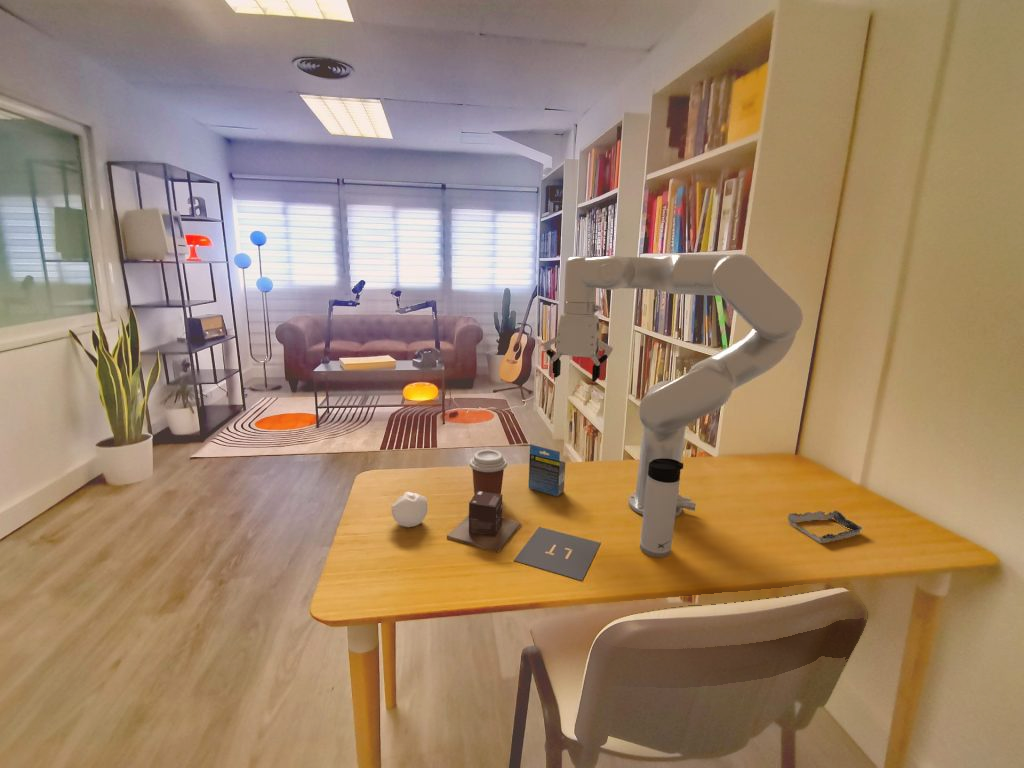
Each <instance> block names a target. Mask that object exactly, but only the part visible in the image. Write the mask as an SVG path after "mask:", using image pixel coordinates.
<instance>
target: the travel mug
mask: <svg viewBox="0 0 1024 768" xmlns="http://www.w3.org/2000/svg"><path fill="white" fill-rule="evenodd" d="M683 469H684V462H681V463H680V462H679V461H677V460H673V459H667V458H660V459H654V460H652V462H650V463H649V468H648V474H647V483H646V492H645V502H644V511H643V515H642V520H641V531H640V540H639V548H640V550H641V552H643V553H644V554H646V555H647V556H650V557H653V558H658V559H659V558H665V557H668V556H669V555H670V554H671V551H672V545H673V538H674V537H673V535H674V527H675V521H676V520H675V519H676V517H675V514H676V506H677V498H678V490H679V491H680V480H681V478H680V477H681V470H683Z"/></svg>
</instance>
